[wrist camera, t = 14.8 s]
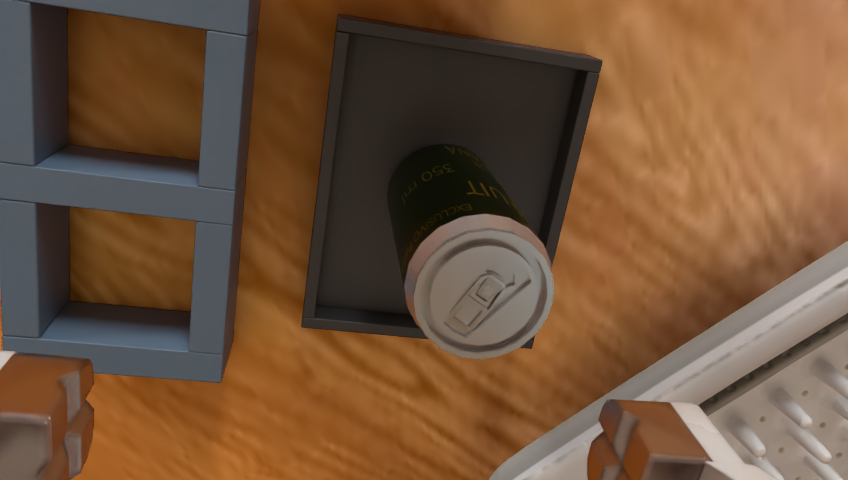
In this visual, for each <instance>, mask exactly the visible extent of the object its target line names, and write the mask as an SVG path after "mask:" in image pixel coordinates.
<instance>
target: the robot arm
mask: <svg viewBox="0 0 848 480" xmlns="http://www.w3.org/2000/svg"><path fill="white" fill-rule="evenodd" d="M93 385H94V375H93V364H92V362H91V360H90V359H87V358H77V357H66V356H56V355H45V354H35V353H24V352H19V353H17V352H15V351H2V350H0V480H70V479H71V478H73V477H74V476H76V475H78V474H79V473H80V472H81V470H82V468H83V466H84V464H85V462H86V460H87V457H88V453H89V449H90V446H91V442H92V437H93V429H94V409H93V407H92V406H91V405H90V404H89V403H88V401H87V400H86V398H87V396H88V394H89V392H90V390H91V388H92V387H93ZM598 420H599V422H600V424H601V427H602V429H603V432H602V433H601V434H600V435H599V436H597V437H596V438H595V439H594V440H593V441H592V442H591V446H590V449H589V453H588V457H587V477H588V480H779V479H777V478H776V477H774V476H772V475H771V474H769V473H767V472H765V471H764V470H762V469H760V468H759V467H757V466H755V465H753V464H745V463H744V462H743V461H742V460H741V458H740V457H739V456H738V455H737V453H736V452H735V451H734V450H733V448H732V447H731V446H730V445H729V443H728V442H727V441H726V440H725V438H724V437H723V436H722V435H721V433H720V432H719V431H718V430H717V428H716V427H715V426H714V425H713V423H712V422H711V421H710V420H709V418H708V417H707V416H706V415H705V413H704V412H703V411H702V410H701V408H700V407H699V406H697V405H695V404H693V403H689V402H656V401H637V400H618V399H607V401H606V402H605V404H604V405H603V406H602V409H601V412H600V415H599V419H598Z"/></svg>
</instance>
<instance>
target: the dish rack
mask: <svg viewBox="0 0 848 480" xmlns="http://www.w3.org/2000/svg"><path fill="white" fill-rule="evenodd" d="M607 399H618V400H637V401H656V402H689V403H693V404H695V405H697V406H699V407H700V408H701V410H702V411H703V412H704V413H705V415H706V416H707V417H708V418H709V420H710V421H711V422H712V423H713V425H714V426H715V427H716V428H717V430H718V431H719V432H720V433H721V435H722V436H723V437H724V438H725V440H726V441H727V442H728V443H729V445H730V446H731V447H732V448H733V450H734V451H735V452H736V453H737V455H738V456H739V457H740V458H741V460H742V461H743V462H744V463H745V464H753V465H755V466H757V467H759V468H760V469H762V470H764V471H765V472H767V473H769V474H771V475H772V476H774V477H776V478H777V479H779V480H848V241H846V242H845V243H843V244H842V245H840V246H838V247H837V248H835V249H834V250H832V251H830V252H829V253H827V254H826V255H824V256H822V257H821V258H819V259H817V260H816V261H814V262H813V263H811V264H809V265H808V266H806V267H805V268H803V269H801V270H800V271H798V272H797V273H795V274H793V275H792V276H790V277H789V278H787V279H786V280H784V281H783V282H781V283H779V284H778V285H776V286H775V287H773V288H772V289H770V290H768V291H767V292H765V293H764V294H762V295H761V296H759V297H757V298H756V299H754V300H753V301H751V302H750V303H748V304H746V305H745V306H743V307H742V308H740V309H739V310H737V311H735V312H734V313H732V314H731V315H729V316H728V317H726V318H724V319H723V320H721V321H720V322H718V323H717V324H715V325H713V326H712V327H710V328H709V329H707V330H706V331H704V332H702V333H701V334H699V335H698V336H696V337H694V338H693V339H691V340H690V341H688V342H687V343H685V344H683V345H682V346H680V347H679V348H677V349H676V350H674V351H672V352H671V353H669V354H668V355H666V356H665V357H663V358H662V359H660V360H658V361H657V362H655V363H654V364H652V365H651V366H649V367H647V368H646V369H644V370H643V371H641V372H640V373H638V374H636V375H635V376H633V377H632V378H630V379H629V380H627V381H626V382H624V383H622V384H621V385H619V386H618V387H616V388H615V389H613V390H611V391H610V392H608V393H607V394H605V395H604V396H602V397H601V398H599V399H598V400H596V401H594V402H593V403H591V404H590V405H588V406H587V407H585V408H584V409H582V410H581V411H579V412H577V413H576V414H574V415H573V416H571V417H570V418H568V419H567V420H565V421H564V422H562V423H561V424H559V425H557V426H556V427H554V428H553V429H551V430H550V431H548V432H547V433H545V434H544V435H542V436H541V437H539V438H538V439H536V440H535V441H533V442H532V443H530V444H529V445H527V446H526V447H524V448H523V449H522V450H520V451H519V452H517V453H516V454H514V455H513V456H512V457H510V458H509V459H507V460H506V461H505V462H504V463H503V464H502V465H501V466H499V467H498V468H497V469H496V470H495V471H494V473H493V474H492V475H491V476H490V478H489V479H488V480H588V477H587V457H588V453H589V449H590V446H591V442H592V441H593V440H594V439H595V438H596V437H597V436H599V435H600V434H601V433H602V432H603V429H602V427H601V424H600V422H599V420H598V419H599V415H600V412H601V409H602V406H603V405H604V404H605V402H606V401H607Z"/></svg>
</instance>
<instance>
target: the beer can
mask: <svg viewBox="0 0 848 480" xmlns="http://www.w3.org/2000/svg"><path fill="white" fill-rule="evenodd" d="M387 201H388V208H389V215H390V220H391V225H392V230H393V236H394V241H395V246H396V251H397V256H398V262H399V267H400V272H401V277H402V283H403V288H404V293H405V298H406V304H407V307H408V309H409V311H410V313H411V315H412V317H413V319H414V321H415V322H416V324H417V325H418V326H419V327H420V328H421V329H422V330H423V332H424V334H425V335H426V336H427V337H428V338H429V339H430V340H431V341H432V342H433V343H434V344H435V345H436V346H438V347H439V348H440V349H442V350H444V351H446V352H449V353H451V354H453V355H455V356H457V357H464V358H471V359H485V358H492V357H499V356H502V355H504V354H506V353H509V352H511V351H513V350H515V349H518V348H520V347H521V346H522V345H523V344H525V343H526V342H527V341H528V340H530V339H531V338H532V337H533V336H534V335H536V334H537V332H538V331H539V329H540V328H541V326H542V325H543V323H544V322H545V320H546V319H547V317H548V315H549V312H550V309H551V305H552V302H553V299H554V286H553V276H552V264H551V261H550V259H549V256H548V254H547V252H546V249H545V247H544V244H543V243H542V241H541V240H540V239H539V237H538V236H537V235H536V233H535V232H534V230H533V229H532V228H531V226H530V225H529V223H528V222H527V221H526V219H525V218H524V216H523V215H522V214H521V212H520V211H519V210H518V208H517V207H516V205H515V204H514V203H513V201H512V200H511V198H510V197H509V196H508V194H507V193H506V192H505V190H504V189H503V187H502V186H501V185H500V183H499V182H498V180H497V179H496V178H495V176H494V175H493V173H492V172H491V171H490V169H489V168H488V167H487V165H486V164H485V163H484V162H483V161H482V160H481V159H480V158H479V157H478V156H477V155H476V154H475V153H473V152H471V151H469V150H467V149H466V148H464V147H462V146H456V145H451V144H445V143H444V144H436V145H429V146H426V147H424V148H421V149H419V150H417V151H415V152H413V153H411V154H410V155H409V156H408V157H407V158H406V159H405V160H404V161H402V162H401V163H400V164H399V165H398V167H397V169H396V171H395V172H394V174H393V176H392V178H391V179H390V183H389V188H388V193H387Z"/></svg>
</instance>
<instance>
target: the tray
mask: <svg viewBox="0 0 848 480" xmlns="http://www.w3.org/2000/svg"><path fill="white" fill-rule="evenodd" d="M601 66H602V60H600V59H597V58H595V57H592V56H589V55H585V54H579V53H573V52H567V51H561V50H554V49H548V48H542V47H536V46H530V45H524V44H518V43H512V42H506V41H500V40H494V39H488V38H482V37H476V36H470V35H464V34H457V33H451V32H445V31H439V30H433V29H427V28H421V27H415V26H409V25H403V24H397V23H391V22H385V21H379V20H373V19H367V18H361V17H354V16H348V15H342V14H338V16H337V25H336V33H335V42H334V51H333V59H332V68H331V76H330V85H329V93H328V102H327V110H326V119H325V127H324V136H323V145H322V153H321V162H320V170H319V179H318V187H317V196H316V204H315V213H314V221H313V230H312V239H311V247H310V256H309V264H308V273H307V281H306V290H305V298H304V307H303V316H302V325H301V326H302V327H304V328H314V329H325V330H336V331H347V332H357V333H368V334H379V335H390V336H400V337H411V338H422V339H429V338H428V337H427V336H426V335H425V334H424V332H423V330H422V329H421V328H420V327H419V326H418V325H417V324H416V322H415V321H414V319H413V317H412V315H411V313H410V311H409V309H408V307H407V304H406V298H405V293H404V288H403V283H402V277H401V272H400V267H399V262H398V256H397V251H396V246H395V241H394V236H393V230H392V225H391V220H390V215H389V208H388V201H387V193H388V188H389V183H390V179H391V178H392V176H393V174H394V172H395V171H396V169H397V167H398V165H399V164H400V163H401V162H402V161H404V160H405V159H406V158H407V157H408V156H409V155H410V154H411V153H413V152H415V151H417V150H419V149H421V148H424V147H426V146H429V145H436V144H444V143H445V144H451V145H456V146H462V147H464V148H466V149H467V150H469V151H471V152H473V153H475V154H476V155H477V156H478V157H479V158H480V159H481V160H482V161H483V162H484V163H485V164H486V165H487V167H488V168H489V169H490V171H491V172H492V173H493V175H494V176H495V178H496V179H497V180H498V182H499V183H500V185H501V186H502V187H503V189H504V190H505V192H506V193H507V194H508V196H509V197H510V198H511V200H512V201H513V203H514V204H515V205H516V207H517V208H518V210H519V211H520V212H521V214H522V215H523V216H524V218H525V219H526V221H527V222H528V223H529V225H530V226H531V228H532V229H533V230H534V232H535V233H536V235H537V236H538V237H539V239H540V240H541V241H542V243H543V244H544V247H545V249H546V252H547V254H548V256H549V259H550V261H551V264H553V260H554V256H555V252H556V248H557V244H558V240H559V236H560V232H561V228H562V224H563V220H564V216H565V212H566V208H567V204H568V200H569V195H570V191H571V187H572V183H573V179H574V175H575V171H576V167H577V163H578V159H579V155H580V151H581V147H582V143H583V139H584V135H585V131H586V127H587V123H588V118H589V114H590V110H591V106H592V102H593V98H594V94H595V90H596V86H597V82H598V78H599V73H600V70H601ZM534 337H535V335H534V336H533V337H532V338H531V339H530V340H528V341H527V342H526V343H525V344H523V345H522V346H521V347H520V348H529V349H531V348H532V346H533V341H534Z"/></svg>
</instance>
